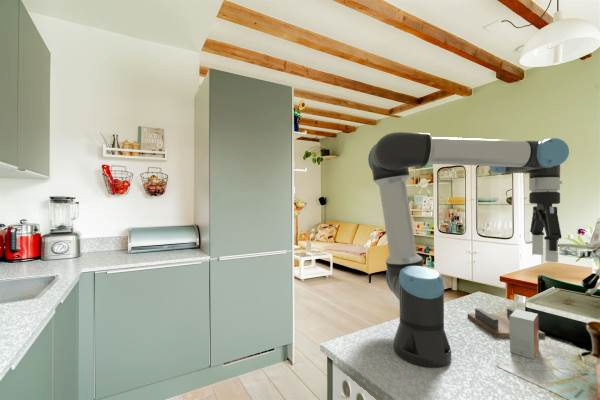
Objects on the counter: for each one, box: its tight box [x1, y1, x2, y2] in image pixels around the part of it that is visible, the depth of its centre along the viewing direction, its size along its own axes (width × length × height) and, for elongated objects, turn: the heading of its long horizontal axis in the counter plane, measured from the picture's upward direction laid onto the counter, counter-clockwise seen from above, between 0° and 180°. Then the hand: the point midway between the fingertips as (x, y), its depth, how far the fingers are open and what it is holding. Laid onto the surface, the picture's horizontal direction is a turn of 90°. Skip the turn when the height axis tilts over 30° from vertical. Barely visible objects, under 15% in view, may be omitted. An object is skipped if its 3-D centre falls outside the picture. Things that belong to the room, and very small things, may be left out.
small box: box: [509, 308, 540, 360], centre depth 82 cm, size 8×6×10 cm
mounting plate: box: [467, 307, 546, 339], centre depth 98 cm, size 15×16×4 cm
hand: (544, 257), depth 91 cm, fingers open, 13 cm apart
